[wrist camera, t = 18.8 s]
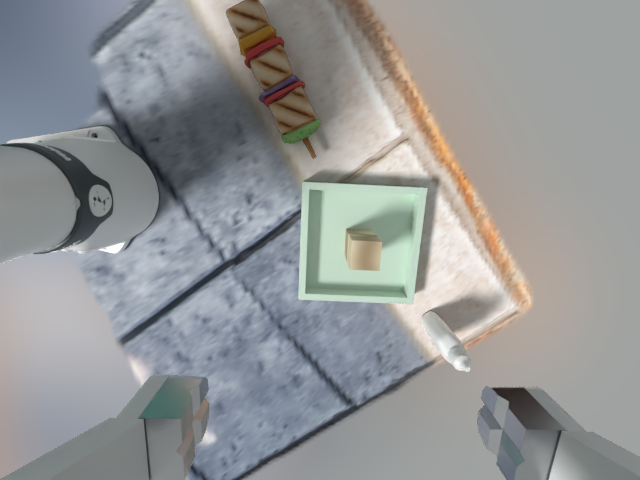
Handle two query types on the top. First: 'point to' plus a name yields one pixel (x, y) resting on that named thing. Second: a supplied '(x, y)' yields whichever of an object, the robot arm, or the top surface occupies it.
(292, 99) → the skewer
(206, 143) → the top surface
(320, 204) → the tray
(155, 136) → the top surface
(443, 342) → the eye dropper bottle
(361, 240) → the birch block
